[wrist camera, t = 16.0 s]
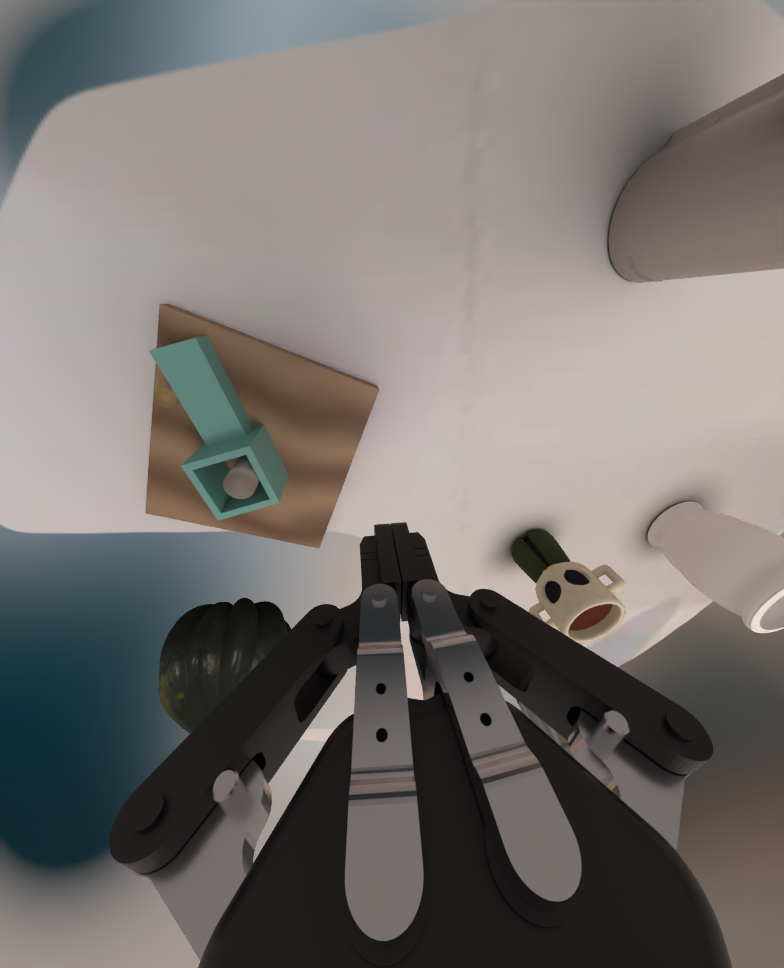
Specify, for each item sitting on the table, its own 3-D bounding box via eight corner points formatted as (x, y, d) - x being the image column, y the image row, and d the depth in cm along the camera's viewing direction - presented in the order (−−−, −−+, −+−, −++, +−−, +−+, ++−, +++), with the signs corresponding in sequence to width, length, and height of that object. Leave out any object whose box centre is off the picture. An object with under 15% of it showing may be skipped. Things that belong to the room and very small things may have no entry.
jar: (681, 484, 43) (829, 558, 30) (718, 507, 47) (864, 581, 34) (626, 540, 47) (735, 626, 34) (664, 557, 51) (775, 641, 38)
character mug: (554, 508, 42) (634, 580, 30) (571, 537, 45) (649, 612, 34) (487, 552, 44) (538, 635, 33) (508, 577, 47) (562, 659, 36)
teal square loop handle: (153, 350, 25) (108, 359, 20) (220, 331, 25) (192, 336, 20) (235, 489, 31) (217, 520, 27) (288, 474, 32) (279, 502, 27)
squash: (169, 592, 32) (107, 776, 26) (313, 605, 37) (286, 762, 31) (193, 591, 44) (154, 716, 39) (298, 601, 49) (277, 713, 44)
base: (169, 304, 24) (103, 301, 18) (377, 386, 30) (388, 408, 23) (153, 505, 33) (103, 556, 26) (319, 540, 38) (315, 590, 31)
